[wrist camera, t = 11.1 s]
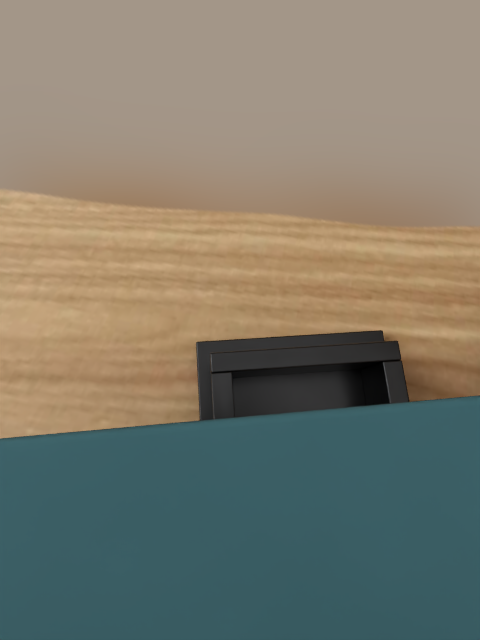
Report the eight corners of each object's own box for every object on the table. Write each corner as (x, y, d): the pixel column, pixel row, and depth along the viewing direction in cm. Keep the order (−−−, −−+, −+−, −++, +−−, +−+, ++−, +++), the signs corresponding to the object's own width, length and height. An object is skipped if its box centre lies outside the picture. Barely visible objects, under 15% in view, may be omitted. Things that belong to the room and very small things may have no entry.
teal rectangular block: (306, 513, 14) (866, 1074, 2) (156, 530, 13) (-307, 1398, 2) (294, 414, 15) (626, 382, 3) (154, 426, 14) (-149, 452, 2)
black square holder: (406, 510, 21) (450, 531, 17) (205, 531, 20) (203, 559, 16) (376, 333, 23) (408, 316, 19) (196, 344, 22) (193, 329, 18)
